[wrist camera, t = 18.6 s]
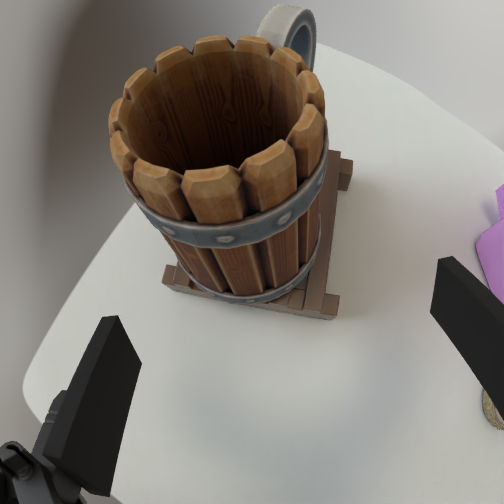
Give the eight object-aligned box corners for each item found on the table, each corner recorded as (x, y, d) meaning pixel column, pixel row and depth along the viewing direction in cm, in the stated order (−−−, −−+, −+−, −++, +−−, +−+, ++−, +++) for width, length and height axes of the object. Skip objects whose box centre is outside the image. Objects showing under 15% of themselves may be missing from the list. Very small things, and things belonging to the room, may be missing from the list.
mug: (282, 332, 22) (285, 288, 8) (158, 270, 24) (34, 168, 10) (356, 161, 26) (398, 13, 12) (247, 123, 28) (224, -21, 14)
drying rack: (172, 290, 28) (156, 279, 24) (210, 158, 32) (202, 134, 28) (330, 320, 26) (339, 314, 22) (347, 177, 30) (355, 153, 26)
